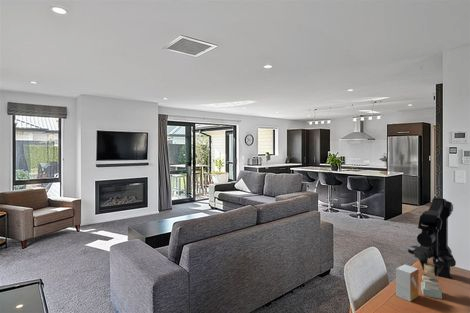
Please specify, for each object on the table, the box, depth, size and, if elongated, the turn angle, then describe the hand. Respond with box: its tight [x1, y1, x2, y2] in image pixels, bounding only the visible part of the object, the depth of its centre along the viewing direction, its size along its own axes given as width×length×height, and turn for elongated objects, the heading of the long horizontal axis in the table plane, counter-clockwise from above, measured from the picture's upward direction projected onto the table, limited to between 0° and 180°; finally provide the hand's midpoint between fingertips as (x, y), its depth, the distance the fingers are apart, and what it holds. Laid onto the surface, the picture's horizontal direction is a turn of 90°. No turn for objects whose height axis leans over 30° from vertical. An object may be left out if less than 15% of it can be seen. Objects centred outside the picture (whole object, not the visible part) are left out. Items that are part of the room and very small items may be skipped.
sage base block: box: [420, 281, 443, 300], centre depth 128 cm, size 7×7×4 cm
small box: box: [395, 263, 419, 302], centre depth 126 cm, size 8×6×13 cm
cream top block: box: [421, 275, 440, 290], centre depth 128 cm, size 6×6×4 cm
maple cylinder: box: [423, 262, 438, 279], centre depth 128 cm, size 5×5×5 cm
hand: (430, 273), depth 128 cm, fingers closed on maple cylinder, 5 cm apart
